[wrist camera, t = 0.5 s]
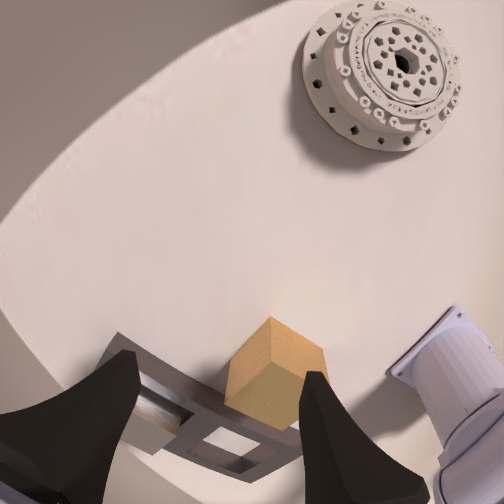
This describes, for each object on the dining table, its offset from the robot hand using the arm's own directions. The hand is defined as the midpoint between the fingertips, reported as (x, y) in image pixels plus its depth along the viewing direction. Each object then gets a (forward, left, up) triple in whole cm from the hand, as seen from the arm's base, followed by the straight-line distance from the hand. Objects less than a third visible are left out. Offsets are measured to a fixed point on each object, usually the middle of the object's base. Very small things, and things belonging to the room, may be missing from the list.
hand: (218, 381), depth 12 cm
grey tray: (-5, +14, -10) cm, 18 cm away
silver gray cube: (0, +14, -10) cm, 17 cm away
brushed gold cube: (-6, +3, -10) cm, 12 cm away
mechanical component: (+1, -16, -10) cm, 19 cm away
